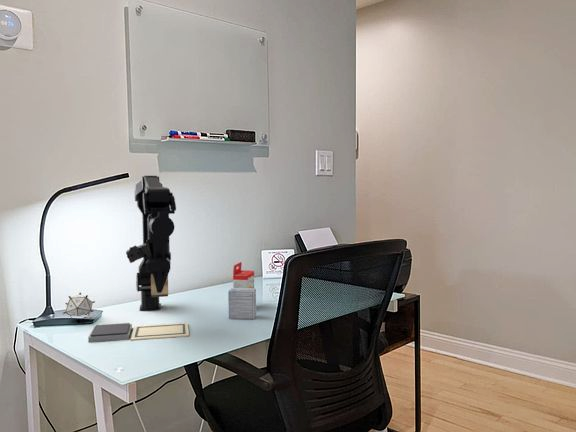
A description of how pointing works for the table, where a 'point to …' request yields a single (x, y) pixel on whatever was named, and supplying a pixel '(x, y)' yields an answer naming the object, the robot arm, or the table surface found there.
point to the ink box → (242, 277)
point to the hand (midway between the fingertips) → (159, 290)
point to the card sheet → (160, 331)
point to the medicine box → (242, 303)
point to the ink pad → (110, 332)
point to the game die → (79, 305)
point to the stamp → (154, 290)
